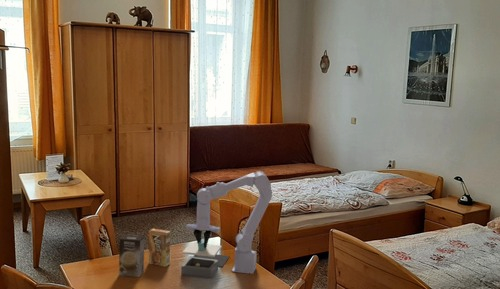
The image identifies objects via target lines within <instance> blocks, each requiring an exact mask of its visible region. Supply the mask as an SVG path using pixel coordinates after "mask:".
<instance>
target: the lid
mask: <svg viewBox="0 0 500 289" xmlns="http://www.w3.org/2000/svg"><path fill="white" fill-rule="evenodd" d="M221 249H222V245H218V244H210V243H207V247H206V248H204V238H201V241H200V242H199V243H197V242H190V243H189V245H187V247H185V249H184V250H183V251H182V254H184V255H191V256H194V255H199V256H208V257H215V256H216V254H217V255H218V253H219V252H220V250H221Z"/></svg>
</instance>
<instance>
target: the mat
mask: <svg viewBox="0 0 500 289" xmlns="http://www.w3.org/2000/svg"><path fill="white" fill-rule="evenodd" d="M229 256H230V255H223V254H218V253H217V254H216V256H215V257H208V256H199V255H192V257H197V258H205V259H213V260H218V268H223V267H224V266H225V264H226V263H227V261H228V260H229V259H228V258H230V257H229Z"/></svg>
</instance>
